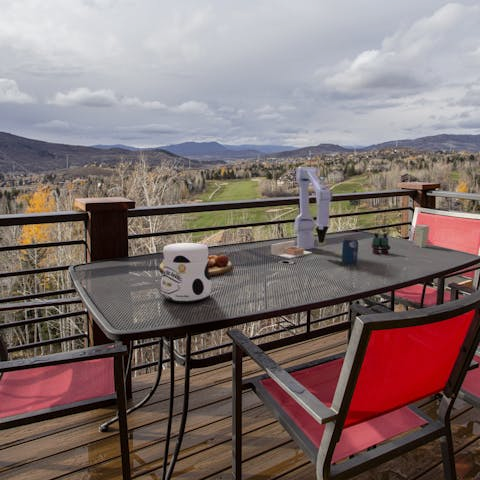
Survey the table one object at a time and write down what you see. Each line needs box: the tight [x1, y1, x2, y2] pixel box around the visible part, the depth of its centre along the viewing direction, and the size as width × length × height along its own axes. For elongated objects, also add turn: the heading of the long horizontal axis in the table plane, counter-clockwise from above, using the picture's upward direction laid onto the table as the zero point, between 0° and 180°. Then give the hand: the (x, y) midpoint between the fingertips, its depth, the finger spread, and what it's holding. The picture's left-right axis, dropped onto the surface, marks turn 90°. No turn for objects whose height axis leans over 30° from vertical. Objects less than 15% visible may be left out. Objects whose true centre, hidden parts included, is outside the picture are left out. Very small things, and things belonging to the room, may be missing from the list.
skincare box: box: [413, 224, 430, 248], centre depth 231 cm, size 6×4×12 cm
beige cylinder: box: [317, 233, 327, 247], centre depth 200 cm, size 4×4×7 cm
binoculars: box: [371, 232, 391, 256], centre depth 212 cm, size 9×11×10 cm
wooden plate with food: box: [158, 254, 233, 277], centre depth 180 cm, size 32×32×8 cm
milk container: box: [160, 242, 212, 303], centre depth 139 cm, size 17×17×18 cm
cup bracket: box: [270, 240, 313, 259], centre depth 209 cm, size 18×12×5 cm
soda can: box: [341, 237, 359, 266], centre depth 189 cm, size 7×7×12 cm
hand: (321, 241), depth 200 cm, fingers closed on beige cylinder, 4 cm apart
